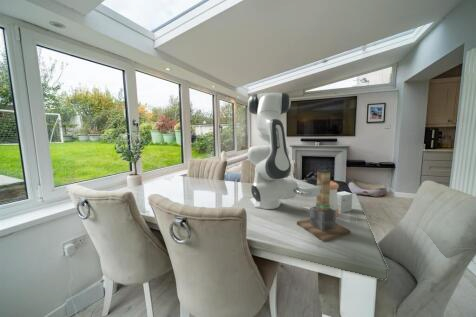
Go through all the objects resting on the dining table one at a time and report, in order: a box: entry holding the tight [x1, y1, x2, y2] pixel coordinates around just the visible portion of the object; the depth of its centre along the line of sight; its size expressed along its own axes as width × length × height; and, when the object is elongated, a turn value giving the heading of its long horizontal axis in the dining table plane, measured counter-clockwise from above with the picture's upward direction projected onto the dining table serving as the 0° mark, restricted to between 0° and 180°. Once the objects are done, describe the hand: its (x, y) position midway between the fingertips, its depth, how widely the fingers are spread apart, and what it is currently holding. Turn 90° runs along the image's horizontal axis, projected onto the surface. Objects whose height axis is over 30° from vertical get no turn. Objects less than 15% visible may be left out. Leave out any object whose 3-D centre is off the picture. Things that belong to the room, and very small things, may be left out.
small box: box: [337, 190, 353, 214], centre depth 117 cm, size 8×6×10 cm
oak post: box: [315, 168, 331, 212], centre depth 94 cm, size 4×4×21 cm
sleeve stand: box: [296, 205, 351, 243], centre depth 96 cm, size 18×16×10 cm
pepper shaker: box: [329, 180, 340, 217], centre depth 112 cm, size 7×7×19 cm
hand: (312, 184), depth 92 cm, fingers open, 8 cm apart
